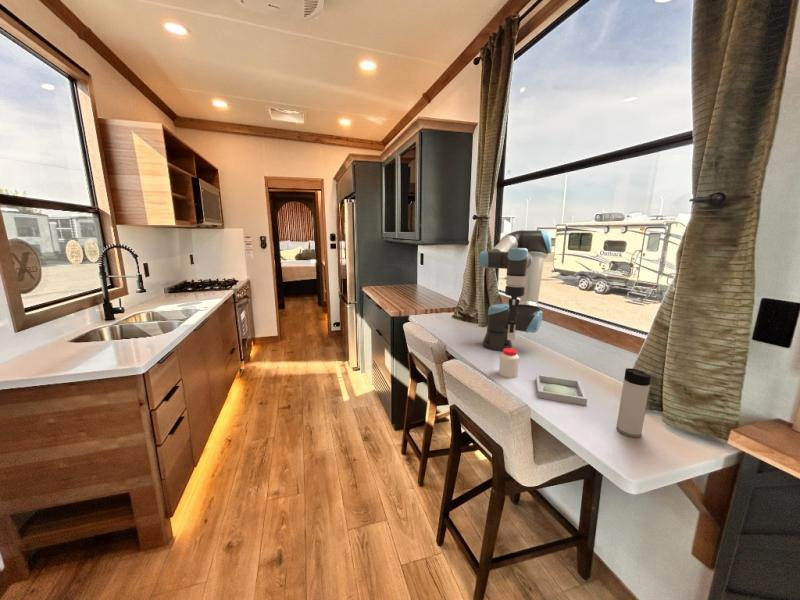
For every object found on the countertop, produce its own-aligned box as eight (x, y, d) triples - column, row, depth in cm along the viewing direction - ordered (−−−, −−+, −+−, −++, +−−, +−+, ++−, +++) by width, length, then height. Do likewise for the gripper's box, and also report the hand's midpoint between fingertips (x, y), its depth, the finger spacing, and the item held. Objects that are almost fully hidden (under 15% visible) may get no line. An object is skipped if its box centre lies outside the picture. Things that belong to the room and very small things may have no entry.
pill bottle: (518, 378, 134) (521, 353, 132) (499, 376, 135) (501, 352, 133) (516, 371, 141) (518, 347, 139) (498, 369, 143) (499, 346, 140)
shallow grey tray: (535, 379, 133) (536, 374, 132) (578, 386, 127) (579, 380, 127) (537, 397, 118) (538, 391, 117) (586, 405, 112) (587, 399, 112)
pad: (542, 383, 129) (542, 382, 129) (572, 387, 126) (572, 386, 126) (544, 395, 119) (544, 394, 119) (577, 401, 115) (577, 399, 115)
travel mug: (610, 426, 100) (619, 366, 96) (629, 425, 101) (639, 366, 97) (625, 438, 94) (636, 375, 90) (646, 437, 95) (657, 374, 91)
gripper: (506, 281, 143) (503, 326, 147) (504, 289, 120) (500, 342, 124) (524, 282, 141) (520, 328, 145) (525, 290, 118) (520, 345, 122)
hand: (511, 335), depth 135 cm, fingers open, 13 cm apart
